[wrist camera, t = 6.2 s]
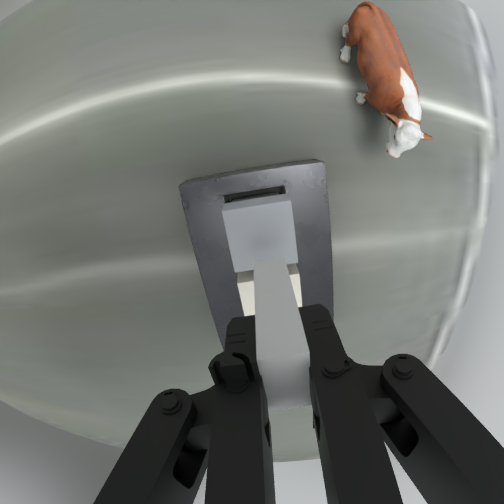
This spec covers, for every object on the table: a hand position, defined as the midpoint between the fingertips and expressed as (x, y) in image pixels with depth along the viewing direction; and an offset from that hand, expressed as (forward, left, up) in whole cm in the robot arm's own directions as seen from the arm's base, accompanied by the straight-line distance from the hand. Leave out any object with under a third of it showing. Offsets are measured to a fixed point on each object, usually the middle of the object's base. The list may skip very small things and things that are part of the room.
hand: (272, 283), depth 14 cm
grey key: (0, 0, -11) cm, 11 cm away
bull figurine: (-11, +12, -14) cm, 21 cm away
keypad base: (+5, 0, -13) cm, 14 cm away
